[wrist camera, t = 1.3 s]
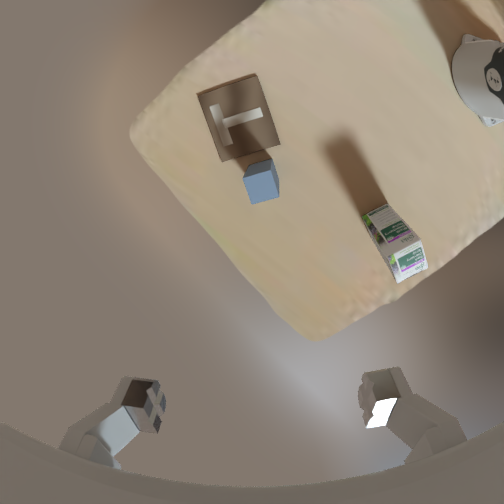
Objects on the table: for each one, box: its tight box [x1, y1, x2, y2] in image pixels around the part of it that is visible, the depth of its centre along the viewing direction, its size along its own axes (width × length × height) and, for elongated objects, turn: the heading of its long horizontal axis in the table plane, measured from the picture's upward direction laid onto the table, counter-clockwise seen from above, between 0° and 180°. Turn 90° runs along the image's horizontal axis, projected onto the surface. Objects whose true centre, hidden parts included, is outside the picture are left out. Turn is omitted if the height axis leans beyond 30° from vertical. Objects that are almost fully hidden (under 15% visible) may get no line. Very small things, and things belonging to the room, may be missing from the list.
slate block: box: [243, 159, 279, 204], centre depth 43 cm, size 4×4×9 cm
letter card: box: [198, 76, 280, 162], centre depth 42 cm, size 10×12×1 cm
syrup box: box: [362, 204, 428, 284], centre depth 42 cm, size 6×6×14 cm
